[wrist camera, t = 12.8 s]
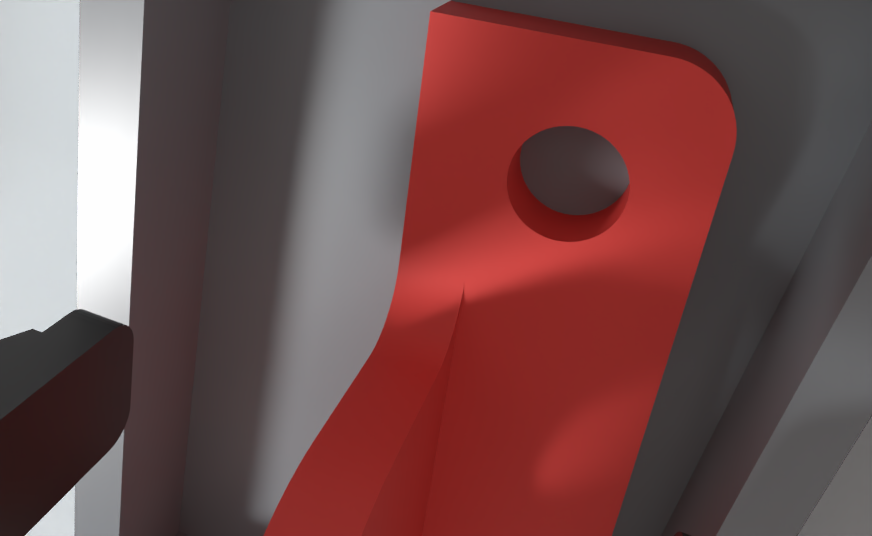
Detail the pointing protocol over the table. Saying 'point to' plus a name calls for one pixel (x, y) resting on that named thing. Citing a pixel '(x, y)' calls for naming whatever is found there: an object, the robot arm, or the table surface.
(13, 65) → the table surface
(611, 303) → the bracket
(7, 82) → the table surface
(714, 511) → the tray
